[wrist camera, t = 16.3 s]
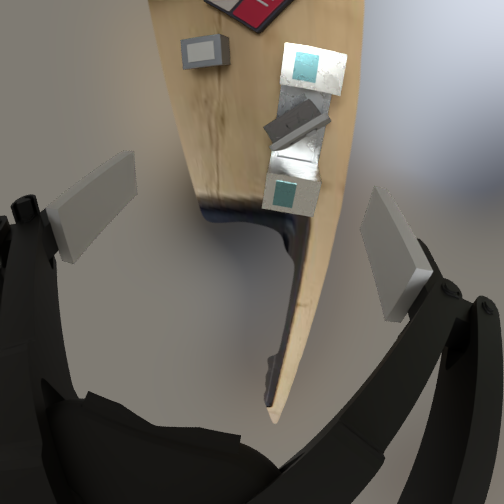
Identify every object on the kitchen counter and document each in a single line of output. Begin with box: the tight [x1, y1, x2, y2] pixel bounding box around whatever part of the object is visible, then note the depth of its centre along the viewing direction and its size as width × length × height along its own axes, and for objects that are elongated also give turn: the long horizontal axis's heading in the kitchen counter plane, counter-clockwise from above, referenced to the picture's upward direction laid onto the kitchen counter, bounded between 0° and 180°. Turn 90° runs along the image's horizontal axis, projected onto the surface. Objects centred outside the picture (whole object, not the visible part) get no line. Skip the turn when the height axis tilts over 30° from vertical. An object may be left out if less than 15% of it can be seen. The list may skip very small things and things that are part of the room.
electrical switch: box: [263, 99, 331, 152], centre depth 38 cm, size 9×5×9 cm, turn 127°
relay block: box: [181, 34, 231, 69], centre depth 35 cm, size 6×5×6 cm
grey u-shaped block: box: [262, 43, 347, 217], centre depth 39 cm, size 8×25×10 cm, turn 174°
